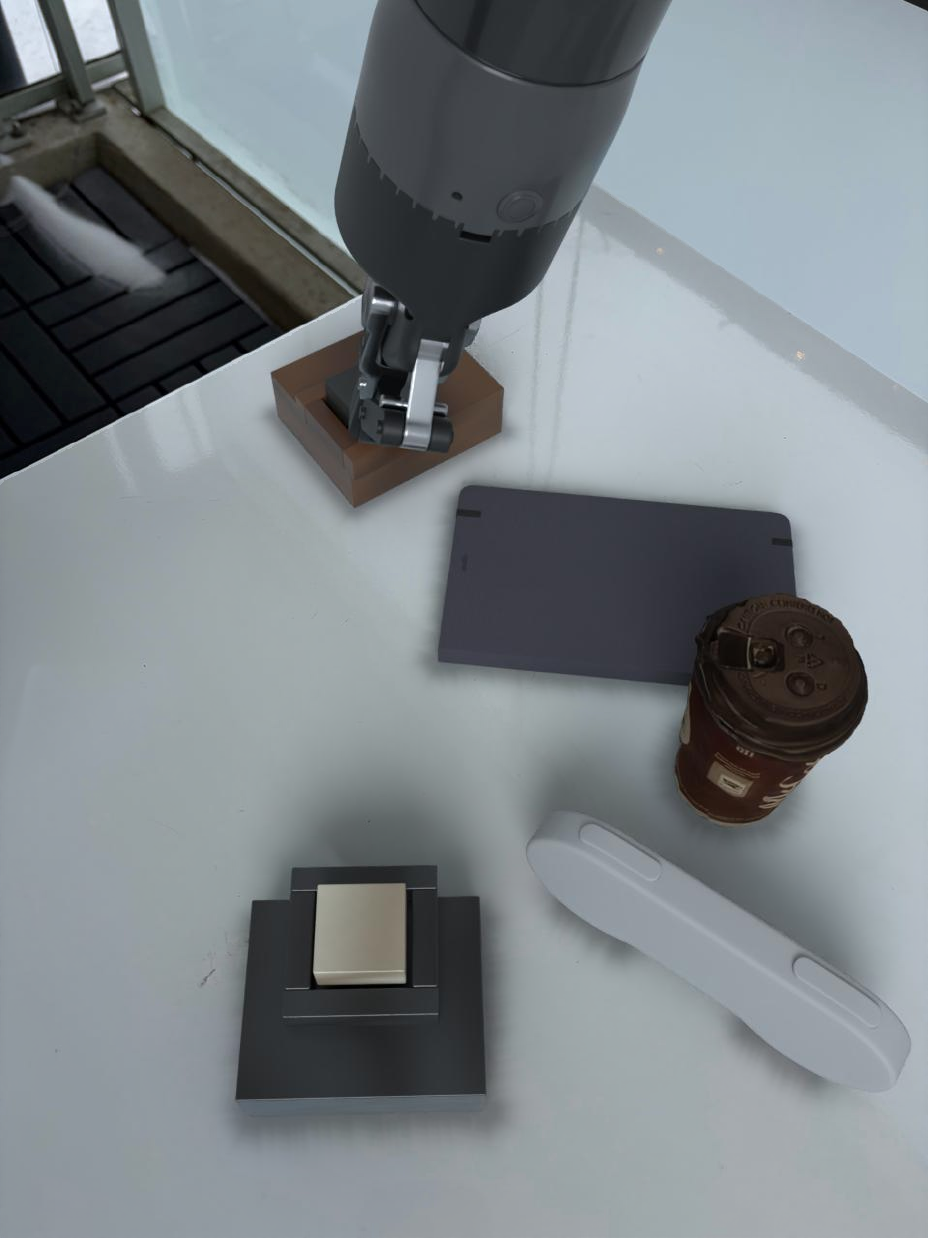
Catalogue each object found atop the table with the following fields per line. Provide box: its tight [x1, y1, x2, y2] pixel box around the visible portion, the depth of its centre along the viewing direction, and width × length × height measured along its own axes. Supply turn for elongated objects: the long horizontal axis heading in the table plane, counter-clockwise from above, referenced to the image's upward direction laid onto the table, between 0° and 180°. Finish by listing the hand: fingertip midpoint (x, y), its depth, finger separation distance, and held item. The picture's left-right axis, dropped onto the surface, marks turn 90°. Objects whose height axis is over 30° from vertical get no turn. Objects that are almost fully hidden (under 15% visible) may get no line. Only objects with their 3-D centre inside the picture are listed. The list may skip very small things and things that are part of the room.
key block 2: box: [234, 864, 487, 1118], centre depth 51 cm, size 11×10×6 cm
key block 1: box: [269, 329, 505, 509], centre depth 72 cm, size 12×11×6 cm
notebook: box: [437, 484, 797, 687], centre depth 67 cm, size 13×2×21 cm
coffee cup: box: [673, 593, 869, 828], centre depth 55 cm, size 9×8×13 cm
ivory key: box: [313, 883, 407, 985], centre depth 49 cm, size 4×4×2 cm
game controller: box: [525, 809, 912, 1093], centre depth 51 cm, size 20×2×8 cm, turn 55°
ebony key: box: [324, 364, 360, 428], centre depth 67 cm, size 4×4×2 cm
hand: (372, 427), depth 48 cm, fingers closed
